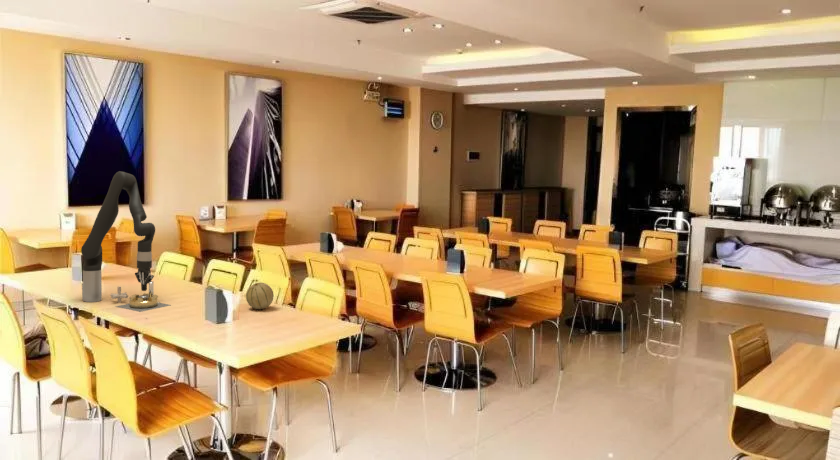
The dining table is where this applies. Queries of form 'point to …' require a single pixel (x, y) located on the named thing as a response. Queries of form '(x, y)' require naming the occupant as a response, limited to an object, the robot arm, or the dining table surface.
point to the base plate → (143, 308)
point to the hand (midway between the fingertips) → (144, 290)
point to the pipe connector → (119, 295)
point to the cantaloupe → (259, 296)
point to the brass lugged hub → (144, 299)
